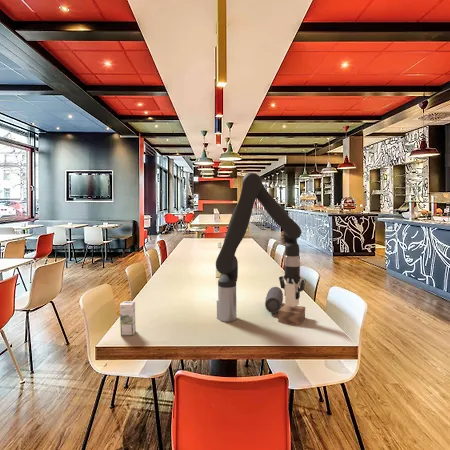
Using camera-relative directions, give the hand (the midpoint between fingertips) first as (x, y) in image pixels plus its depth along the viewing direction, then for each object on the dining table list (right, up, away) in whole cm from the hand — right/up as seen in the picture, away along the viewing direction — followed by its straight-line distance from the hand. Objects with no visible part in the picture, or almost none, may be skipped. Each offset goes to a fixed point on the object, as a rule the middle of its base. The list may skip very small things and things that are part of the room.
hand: (292, 298), depth 172 cm
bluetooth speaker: (-6, -10, +19) cm, 22 cm away
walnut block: (0, -11, +1) cm, 11 cm away
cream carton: (0, -3, 0) cm, 3 cm away
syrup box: (-78, -13, -15) cm, 80 cm away
